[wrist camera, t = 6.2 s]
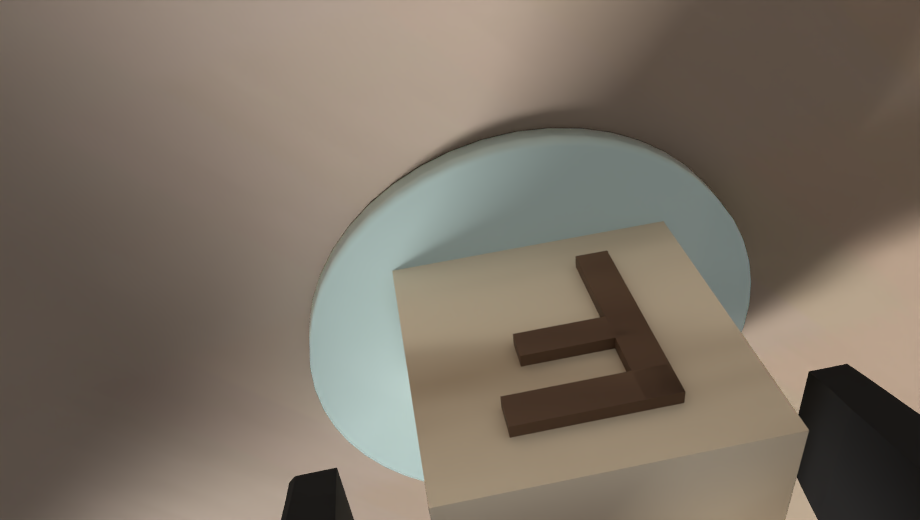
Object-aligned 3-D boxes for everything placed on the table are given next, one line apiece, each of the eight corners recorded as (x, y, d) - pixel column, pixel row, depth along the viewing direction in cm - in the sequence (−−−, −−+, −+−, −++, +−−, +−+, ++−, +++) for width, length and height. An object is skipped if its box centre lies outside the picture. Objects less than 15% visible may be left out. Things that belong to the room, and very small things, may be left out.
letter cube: (649, 406, 15) (756, 624, 12) (428, 450, 15) (467, 689, 11) (663, 210, 12) (811, 418, 9) (390, 260, 12) (426, 497, 8)
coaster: (713, 423, 17) (726, 445, 16) (355, 497, 16) (357, 522, 16) (762, 88, 12) (781, 104, 11) (255, 176, 11) (253, 198, 11)
